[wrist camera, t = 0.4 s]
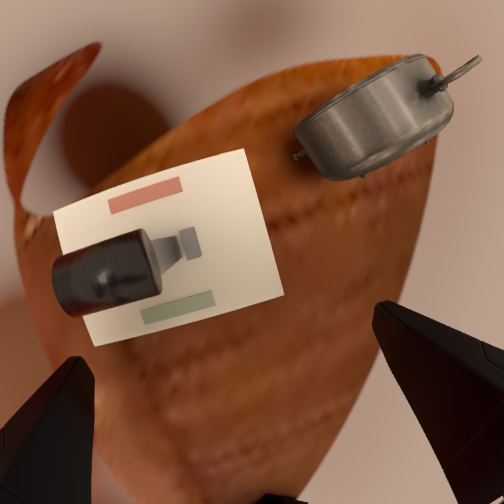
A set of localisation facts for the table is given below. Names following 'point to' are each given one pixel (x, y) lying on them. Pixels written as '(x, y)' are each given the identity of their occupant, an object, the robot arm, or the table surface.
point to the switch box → (182, 243)
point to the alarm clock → (378, 118)
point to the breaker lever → (113, 272)
